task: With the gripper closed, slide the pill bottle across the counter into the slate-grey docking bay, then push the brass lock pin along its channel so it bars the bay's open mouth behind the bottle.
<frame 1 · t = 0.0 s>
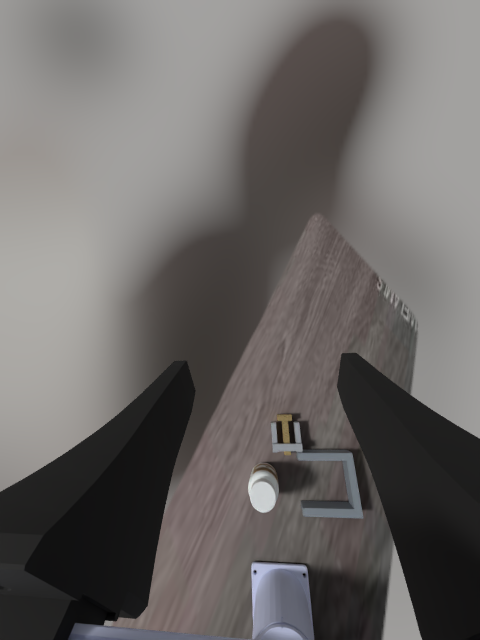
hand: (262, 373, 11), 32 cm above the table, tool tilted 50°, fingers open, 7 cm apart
dock bay: (327, 478, 35), on the table
pill bottle: (264, 477, 37), on the table
lock bar: (285, 433, 37), point 1 cm above the table, slide at 0.0 cm
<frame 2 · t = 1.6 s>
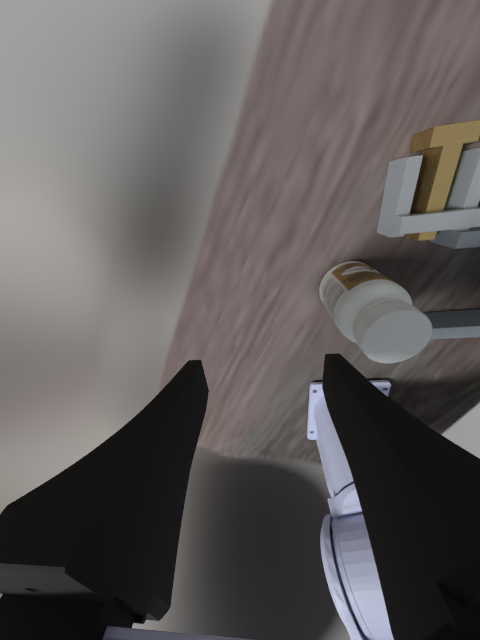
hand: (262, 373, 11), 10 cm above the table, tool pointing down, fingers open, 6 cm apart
pill bottle: (344, 285, 19), on the table
lock bar: (430, 188, 14), point 1 cm above the table, slide at 0.0 cm
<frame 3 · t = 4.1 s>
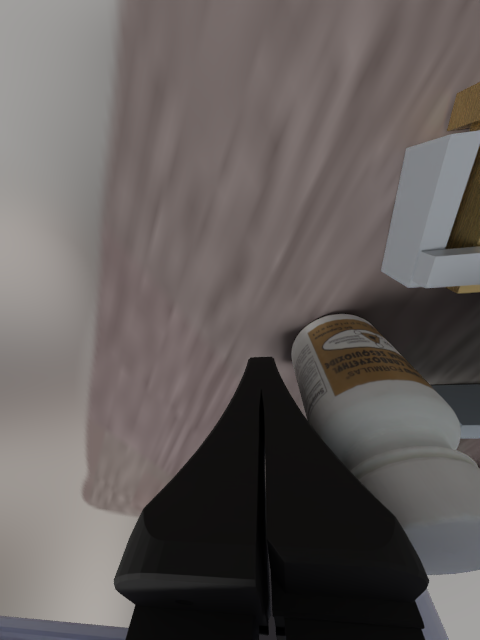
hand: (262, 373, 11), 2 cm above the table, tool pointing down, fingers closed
pill bottle: (330, 345, 12), on the table, touching gripper
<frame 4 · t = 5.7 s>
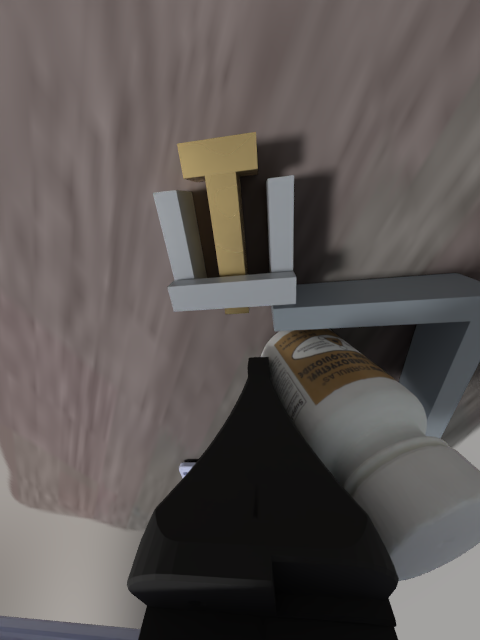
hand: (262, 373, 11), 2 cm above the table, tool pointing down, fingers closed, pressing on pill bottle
dock bay: (356, 350, 12), on the table
pill bottle: (295, 354, 12), on the table, touching gripper
lock bar: (230, 237, 9), point 1 cm above the table, slide at 0.0 cm
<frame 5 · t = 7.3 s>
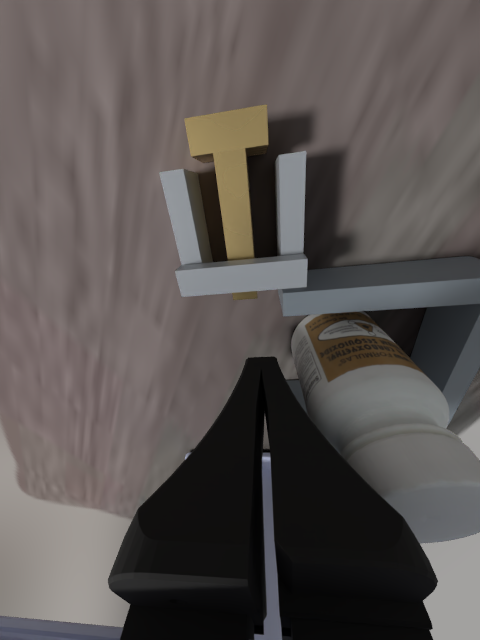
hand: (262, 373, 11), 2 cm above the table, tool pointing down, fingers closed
dock bay: (363, 337, 12), on the table
pill bottle: (329, 336, 12), on the table, touching gripper
lock bar: (238, 220, 9), point 1 cm above the table, slide at 0.0 cm
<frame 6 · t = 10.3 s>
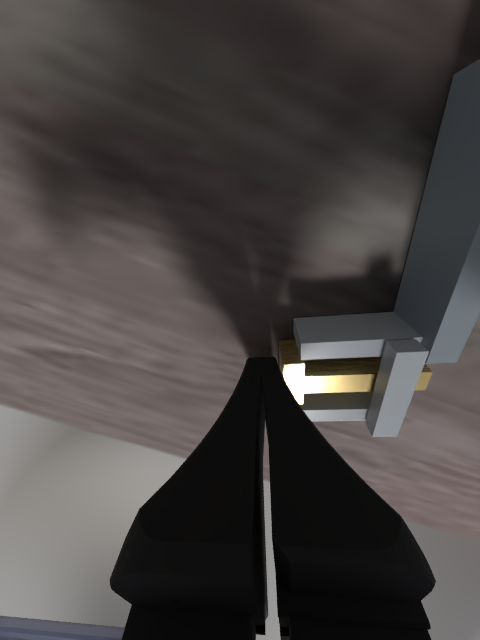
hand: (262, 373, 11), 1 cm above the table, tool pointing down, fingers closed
lock bar: (346, 369, 10), point 1 cm above the table, slide at 0.5 cm, touching gripper
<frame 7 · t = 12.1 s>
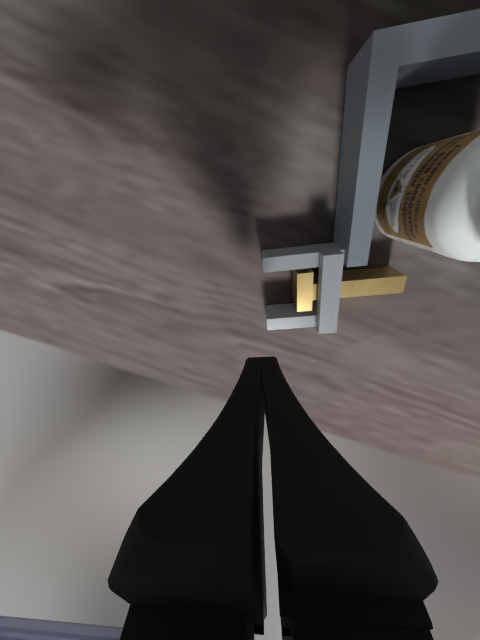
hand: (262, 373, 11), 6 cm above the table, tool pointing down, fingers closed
dock bay: (422, 156, 11), on the table
pill bottle: (410, 196, 12), on the table
lock bar: (344, 283, 13), point 1 cm above the table, slide at 3.1 cm
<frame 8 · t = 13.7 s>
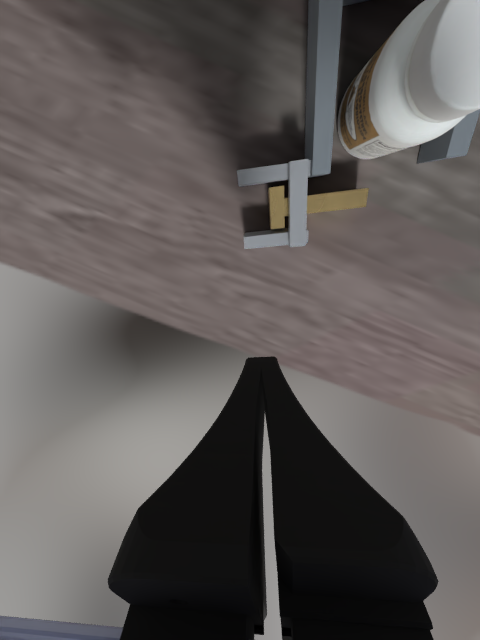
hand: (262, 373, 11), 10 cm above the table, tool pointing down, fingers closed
dock bay: (380, 72, 12), on the table
pill bottle: (372, 115, 13), on the table
lock bar: (314, 203, 15), point 1 cm above the table, slide at 3.1 cm
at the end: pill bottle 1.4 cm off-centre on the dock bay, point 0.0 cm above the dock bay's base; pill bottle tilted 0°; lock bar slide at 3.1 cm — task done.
